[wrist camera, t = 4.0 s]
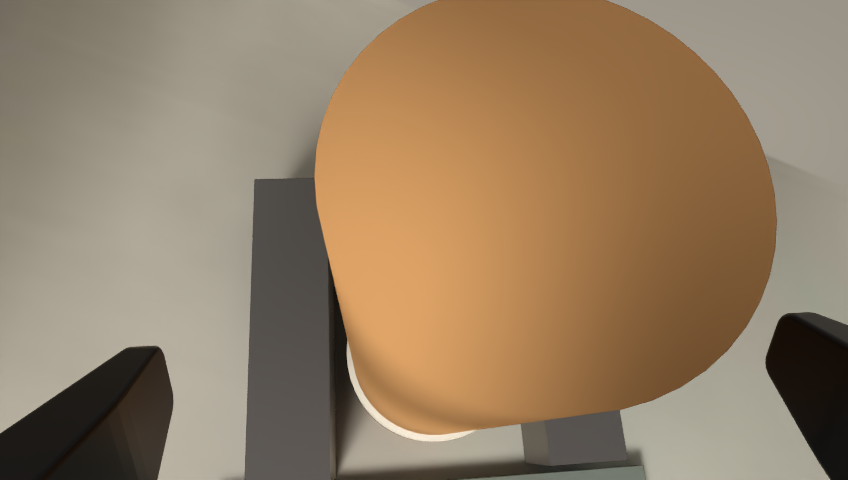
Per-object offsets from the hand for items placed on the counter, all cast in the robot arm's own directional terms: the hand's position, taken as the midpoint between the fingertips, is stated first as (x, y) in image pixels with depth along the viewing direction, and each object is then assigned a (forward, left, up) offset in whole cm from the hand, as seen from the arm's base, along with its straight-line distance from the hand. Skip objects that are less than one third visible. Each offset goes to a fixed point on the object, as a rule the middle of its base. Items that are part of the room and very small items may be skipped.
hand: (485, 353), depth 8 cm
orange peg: (+1, +1, -9) cm, 9 cm away
